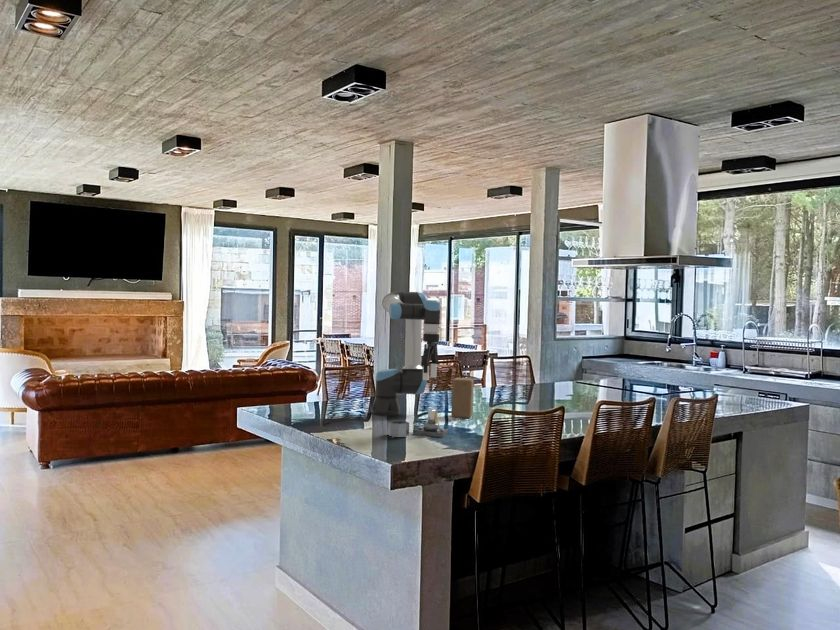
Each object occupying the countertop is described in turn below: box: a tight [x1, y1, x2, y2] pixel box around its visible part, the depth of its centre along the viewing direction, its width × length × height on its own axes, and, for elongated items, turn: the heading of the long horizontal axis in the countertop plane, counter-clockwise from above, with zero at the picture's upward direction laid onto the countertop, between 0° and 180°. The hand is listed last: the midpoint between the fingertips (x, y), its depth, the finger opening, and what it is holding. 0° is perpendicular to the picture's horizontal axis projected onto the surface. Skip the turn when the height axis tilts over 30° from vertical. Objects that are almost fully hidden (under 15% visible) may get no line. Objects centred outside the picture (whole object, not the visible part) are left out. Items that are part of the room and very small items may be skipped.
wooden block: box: [451, 377, 475, 419], centre depth 373 cm, size 10×10×20 cm
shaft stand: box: [412, 408, 450, 439], centre depth 321 cm, size 14×10×11 cm
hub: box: [386, 419, 410, 438], centre depth 314 cm, size 9×9×6 cm
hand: (429, 378), depth 330 cm, fingers open, 13 cm apart
